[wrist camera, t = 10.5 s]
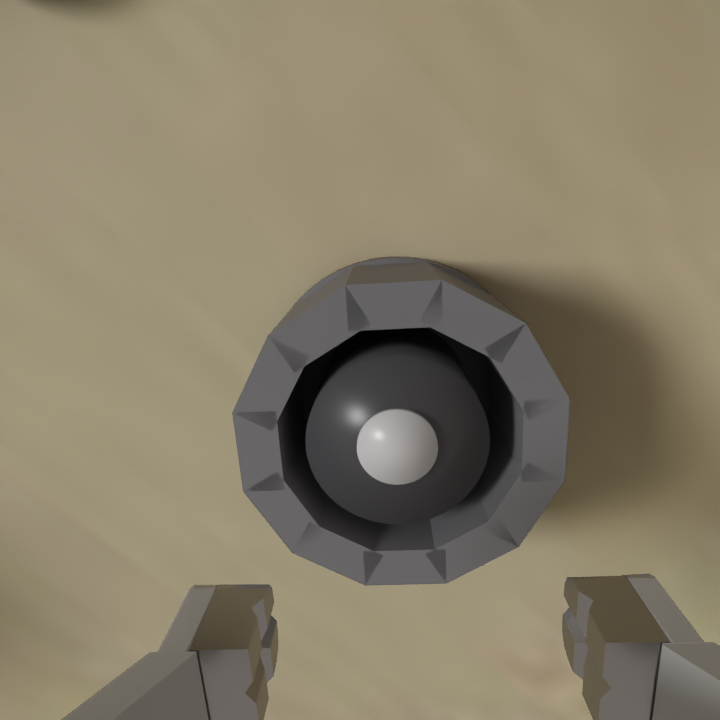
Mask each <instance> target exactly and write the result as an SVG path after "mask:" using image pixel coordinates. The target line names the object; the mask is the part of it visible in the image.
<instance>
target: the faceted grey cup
mask: <svg viewBox="0 0 720 720" xmlns="http://www.w3.org/2000/svg"><path fill="white" fill-rule="evenodd" d="M405 328H426V329H428V330H430V331H432V332H433V333H435V334H437V335H438V336H439V337H440V338H442V339H443V340H444V341H445V342H446V343H447V344H448V345H449V346H450V347H451V348H452V350H453V351H454V352H455V354H456V355H457V357H458V359H459V361H460V363H461V365H462V367H463V369H464V371H465V373H466V375H467V377H468V379H469V381H470V383H471V385H472V387H473V389H474V391H475V393H476V395H477V397H478V399H479V401H480V403H481V405H482V407H483V409H484V412H485V415H486V417H487V421H488V426H489V431H490V448H489V455H488V459H487V463H486V466H485V468H484V471H483V474H482V475H481V477H480V479H479V481H478V482H477V484H476V485H475V487H474V488H473V489H472V491H471V492H470V493H469V494H468V495H467V496H466V497H465V498H464V499H463V500H462V501H461V502H460V503H458V504H457V505H456V506H454V507H453V508H451V509H450V510H448V511H446V512H445V513H443V514H441V515H439V516H436V517H434V518H431V519H428V520H425V521H421V522H416V523H411V524H385V523H378V522H374V521H370V520H367V519H364V518H361V517H359V516H356V515H354V514H352V513H351V512H349V511H347V510H345V509H344V508H342V507H341V506H340V505H338V504H337V503H336V502H334V501H333V500H332V499H331V498H330V497H329V496H328V495H327V494H326V493H325V491H324V490H323V489H322V488H321V486H320V485H319V483H318V482H317V480H316V479H315V477H314V475H313V472H312V470H311V468H310V465H309V462H308V458H307V453H306V440H305V436H306V428H307V423H308V419H309V415H310V412H311V410H312V407H313V404H314V401H315V398H316V395H317V392H318V389H319V386H320V383H321V381H322V378H323V375H324V372H325V369H326V367H327V364H328V362H329V360H330V358H331V356H332V355H333V353H334V352H335V350H336V349H337V348H338V347H339V345H340V344H341V343H342V342H344V341H345V340H347V339H348V338H350V337H351V336H353V335H355V334H356V333H358V332H359V331H364V330H384V329H405ZM569 407H570V398H569V396H568V394H567V393H566V391H565V389H564V388H563V386H562V384H561V382H560V381H559V379H558V377H557V376H556V374H555V372H554V370H553V369H552V367H551V365H550V364H549V362H548V360H547V358H546V357H545V355H544V353H543V352H542V350H541V348H540V346H539V345H538V343H537V341H536V340H535V338H534V336H533V334H532V333H531V331H530V329H529V328H528V326H527V324H526V323H525V322H524V321H523V320H521V319H520V318H519V317H518V316H516V315H515V314H514V313H512V312H511V311H510V310H509V309H507V308H506V307H505V306H504V305H502V304H501V303H500V302H499V301H497V300H496V299H495V298H494V297H492V296H491V295H490V294H489V293H488V292H487V291H485V290H484V289H483V288H482V287H481V286H479V285H478V284H477V283H476V282H474V281H473V280H471V279H470V278H468V277H467V276H465V275H463V274H462V273H460V272H458V271H456V270H454V269H452V268H449V267H447V266H445V265H442V264H439V263H436V262H432V261H429V260H425V259H419V258H412V257H383V258H375V259H369V260H365V261H362V262H358V263H354V264H352V265H349V266H347V267H344V268H342V269H339V270H337V271H336V272H334V273H332V274H330V275H329V276H327V277H325V278H323V279H322V280H321V281H319V282H318V283H317V284H315V285H314V286H313V287H312V288H310V289H309V290H308V291H307V292H306V293H305V294H304V295H303V296H302V297H301V298H300V299H299V300H298V301H297V302H296V303H295V305H294V306H293V307H292V309H291V310H290V311H289V312H288V313H287V314H286V316H285V317H284V318H283V319H282V320H281V321H280V322H279V324H278V325H277V326H276V327H275V328H274V329H273V331H272V332H271V333H270V334H269V335H268V337H267V339H266V341H265V343H264V345H263V348H262V350H261V352H260V354H259V356H258V358H257V361H256V363H255V365H254V367H253V369H252V371H251V374H250V376H249V378H248V380H247V382H246V384H245V387H244V389H243V391H242V393H241V395H240V397H239V400H238V402H237V404H236V406H235V408H234V410H233V412H232V413H233V421H234V428H235V435H236V442H237V450H238V457H239V464H240V472H241V479H242V486H243V492H244V493H245V494H246V496H247V497H248V498H249V499H250V501H251V502H252V503H253V504H254V506H255V507H256V508H257V509H258V511H259V512H260V513H261V514H262V516H263V517H264V518H265V519H266V521H267V522H268V523H269V524H270V526H271V527H272V528H273V529H274V531H275V532H276V533H277V534H278V536H279V537H280V538H281V539H282V541H283V542H284V543H285V544H286V546H287V547H288V548H289V549H290V551H291V552H292V553H294V554H296V555H298V556H300V557H303V558H305V559H307V560H309V561H312V562H314V563H316V564H318V565H321V566H323V567H325V568H327V569H330V570H332V571H334V572H336V573H339V574H341V575H343V576H345V577H347V578H350V579H352V580H354V581H356V582H359V583H361V584H363V585H403V584H444V583H448V582H450V581H452V580H454V579H456V578H458V577H460V576H462V575H464V574H466V573H468V572H470V571H472V570H474V569H476V568H478V567H480V566H482V565H484V564H486V563H488V562H490V561H492V560H494V559H496V558H497V557H499V556H501V555H503V554H505V553H507V552H509V551H511V550H513V549H515V548H517V547H519V546H520V544H521V543H522V541H523V540H524V539H525V537H526V536H527V534H528V533H529V531H530V530H531V529H532V527H533V526H534V524H535V523H536V521H537V520H538V519H539V517H540V516H541V514H542V513H543V511H544V510H545V509H546V507H547V506H548V504H549V503H550V501H551V500H552V499H553V497H554V496H555V494H556V493H557V492H558V490H559V489H560V487H561V486H562V484H563V483H564V482H565V475H566V458H567V441H568V424H569Z"/></svg>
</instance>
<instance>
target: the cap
mask: <svg viewBox="0 0 720 720" xmlns="http://www.w3.org/2000/svg"><path fill="white" fill-rule="evenodd" d="M305 440H306V453H307V458H308V462H309V465H310V468H311V470H312V472H313V475H314V477H315V479H316V480H317V482H318V483H319V485H320V486H321V488H322V489H323V490H324V491H325V493H326V494H327V495H328V496H329V497H330V498H331V499H332V500H333V501H334V502H336V503H337V504H338V505H340V506H341V507H342V508H344V509H345V510H347V511H349V512H351V513H352V514H354V515H356V516H359V517H361V518H364V519H367V520H370V521H374V522H378V523H385V524H411V523H416V522H421V521H425V520H428V519H431V518H434V517H436V516H439V515H441V514H443V513H445V512H446V511H448V510H450V509H451V508H453V507H454V506H456V505H457V504H458V503H460V502H461V501H462V500H463V499H464V498H465V497H466V496H467V495H468V494H469V493H470V492H471V491H472V489H473V488H474V487H475V485H476V484H477V482H478V481H479V479H480V477H481V475H482V474H483V471H484V468H485V466H486V463H487V459H488V455H489V448H490V431H489V426H488V421H487V417H486V415H485V412H484V409H483V407H482V405H481V403H480V401H479V399H478V397H477V395H476V393H475V391H474V389H473V387H472V385H471V383H470V381H469V379H468V377H467V375H466V373H465V371H464V369H463V367H462V365H461V363H460V361H459V359H458V357H457V355H456V354H455V352H454V351H453V350H452V348H451V347H450V346H449V345H448V344H447V343H446V342H445V341H444V340H443V339H442V338H440V337H439V336H438V335H437V334H435V333H433V332H432V331H430V330H428V329H426V328H405V329H384V330H364V331H359V332H358V333H356V334H355V335H353V336H351V337H350V338H348V339H347V340H345V341H344V342H342V343H341V344H340V345H339V347H338V348H337V349H336V350H335V352H334V353H333V355H332V356H331V358H330V360H329V362H328V364H327V367H326V369H325V372H324V375H323V378H322V381H321V383H320V386H319V389H318V392H317V395H316V398H315V401H314V404H313V407H312V410H311V412H310V415H309V419H308V423H307V428H306V436H305Z"/></svg>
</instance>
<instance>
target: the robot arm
mask: <svg viewBox="0 0 720 720" xmlns="http://www.w3.org/2000/svg"><path fill="white" fill-rule="evenodd" d="M564 597H565V599H566V601H567V603H568V605H569V608H568V610H567V611H566V612H565V613H564V614H563V618H562V633H563V640H564V647H565V651H566V654H567V658H568V660H569V663H570V665H571V668H572V670H573V672H574V673H575V674H577V675H578V676H579V677H580V678H582V679H583V691H582V695H583V697H584V699H585V702H586V704H587V706H588V709H589V711H590V713H591V716H592V718H593V720H720V646H719V645H717V644H716V643H714V642H704V641H703V640H702V638H701V637H700V636H699V634H698V633H697V632H696V630H695V629H694V628H693V626H692V625H691V624H690V622H689V621H688V620H687V618H686V617H685V616H684V615H683V613H682V612H681V611H680V609H679V608H678V607H677V605H676V604H675V603H674V601H673V600H672V599H671V597H670V596H669V595H668V593H667V592H666V591H665V589H664V588H663V587H662V586H661V584H660V583H659V582H658V580H657V579H656V578H655V577H654V576H652V575H651V574H632V575H622V576H595V577H567V579H566V582H565V586H564ZM273 605H274V598H273V591H272V587H271V586H270V585H194V586H193V587H192V588H190V589H189V591H188V593H187V595H186V597H185V599H184V601H183V603H182V605H181V607H180V609H179V611H178V613H177V615H176V616H175V618H174V620H173V622H172V624H171V626H170V628H169V630H168V632H167V634H166V636H165V638H164V640H163V642H162V644H161V646H160V648H159V650H158V652H150V653H148V654H147V655H146V656H144V657H143V658H142V659H140V660H139V661H138V662H136V663H135V664H134V665H133V666H131V667H130V668H129V669H127V670H126V671H125V672H123V673H122V674H121V675H119V676H118V677H117V678H115V679H114V680H113V681H111V682H110V683H109V684H107V685H106V686H105V687H104V688H102V689H101V690H100V691H98V692H97V693H96V694H94V695H93V696H92V697H90V698H89V699H88V700H86V701H85V702H84V703H82V704H81V705H80V706H79V707H77V708H76V709H75V710H73V711H72V712H71V713H69V714H68V715H67V716H65V717H64V718H63V719H61V720H264V716H265V712H266V707H267V703H268V699H269V697H268V689H267V682H268V681H269V680H270V679H271V678H272V677H273V676H274V672H275V667H276V662H277V652H278V628H277V621H276V620H275V619H274V618H273V617H272V616H271V612H272V609H273Z"/></svg>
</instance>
